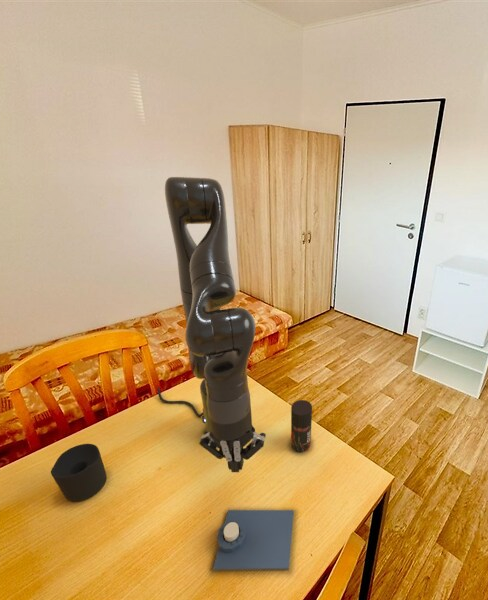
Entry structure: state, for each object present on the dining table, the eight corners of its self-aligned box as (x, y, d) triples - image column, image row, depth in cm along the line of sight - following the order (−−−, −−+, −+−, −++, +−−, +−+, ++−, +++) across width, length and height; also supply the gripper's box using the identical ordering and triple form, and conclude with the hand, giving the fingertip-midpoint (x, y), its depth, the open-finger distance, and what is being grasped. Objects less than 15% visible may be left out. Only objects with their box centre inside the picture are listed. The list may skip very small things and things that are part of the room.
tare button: (222, 542, 70) (221, 537, 69) (226, 526, 73) (225, 522, 72) (237, 542, 70) (236, 537, 70) (240, 526, 73) (240, 522, 73)
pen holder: (117, 478, 84) (107, 453, 79) (77, 511, 76) (65, 485, 72) (94, 463, 87) (84, 438, 83) (55, 493, 79) (41, 467, 75)
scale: (210, 571, 67) (209, 564, 66) (226, 512, 78) (225, 506, 77) (288, 570, 68) (288, 564, 67) (293, 512, 79) (293, 506, 78)
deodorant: (307, 454, 94) (308, 417, 87) (288, 450, 95) (288, 412, 88) (312, 438, 99) (314, 402, 93) (294, 434, 100) (295, 398, 94)
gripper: (269, 393, 62) (271, 453, 70) (200, 391, 61) (210, 452, 69) (262, 424, 55) (265, 486, 63) (185, 421, 55) (197, 485, 62)
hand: (236, 468), depth 66 cm, fingers closed
